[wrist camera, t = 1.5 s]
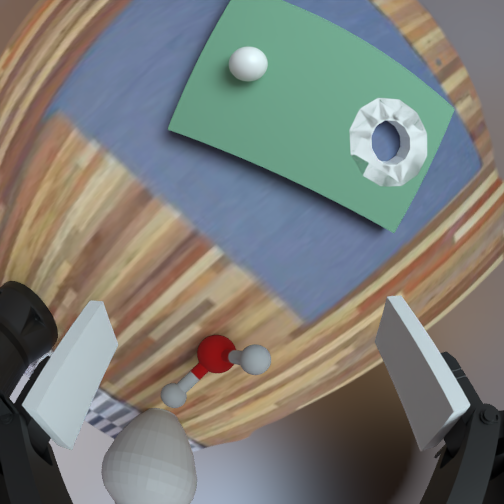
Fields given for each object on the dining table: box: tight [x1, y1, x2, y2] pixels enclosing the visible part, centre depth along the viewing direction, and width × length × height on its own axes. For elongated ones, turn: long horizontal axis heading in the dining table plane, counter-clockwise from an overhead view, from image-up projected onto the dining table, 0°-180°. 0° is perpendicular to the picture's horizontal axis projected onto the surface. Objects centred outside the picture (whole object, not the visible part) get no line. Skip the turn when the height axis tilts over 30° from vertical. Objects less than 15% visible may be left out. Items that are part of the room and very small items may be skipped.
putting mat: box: [168, 0, 454, 233], centre depth 27 cm, size 28×18×2 cm, turn 66°
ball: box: [229, 46, 268, 82], centre depth 23 cm, size 4×4×4 cm
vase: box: [102, 408, 197, 504], centre depth 40 cm, size 18×18×25 cm
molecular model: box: [161, 335, 271, 408], centre depth 37 cm, size 18×6×10 cm, turn 126°
